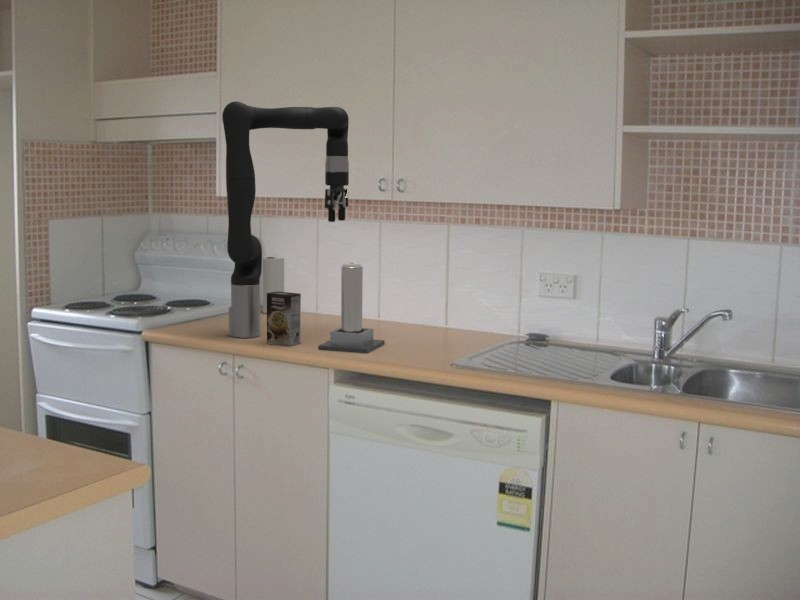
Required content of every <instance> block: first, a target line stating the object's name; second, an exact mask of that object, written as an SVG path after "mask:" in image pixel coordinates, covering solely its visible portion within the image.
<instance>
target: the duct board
mask: <svg viewBox="0 0 800 600" xmlns="http://www.w3.org/2000/svg"><path fill="white" fill-rule="evenodd" d="M329 332H330V333H329V337H330V339H329V340H328V341H325V342H323V343H321V344H318V346H317V350H319V351H321V350H322V351H333V352H334V351H335V352H343V353H345V352H347V353H359V354H369V353H371V352H373V351H375V350H377V349H378V348H380V347H382V346H384V345H385V340H384V339H374V328H371V327H370V328H368V327H362V332H361V333H349V332H341V327H339V328H336V329H334V330H332V331H329Z"/></svg>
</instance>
